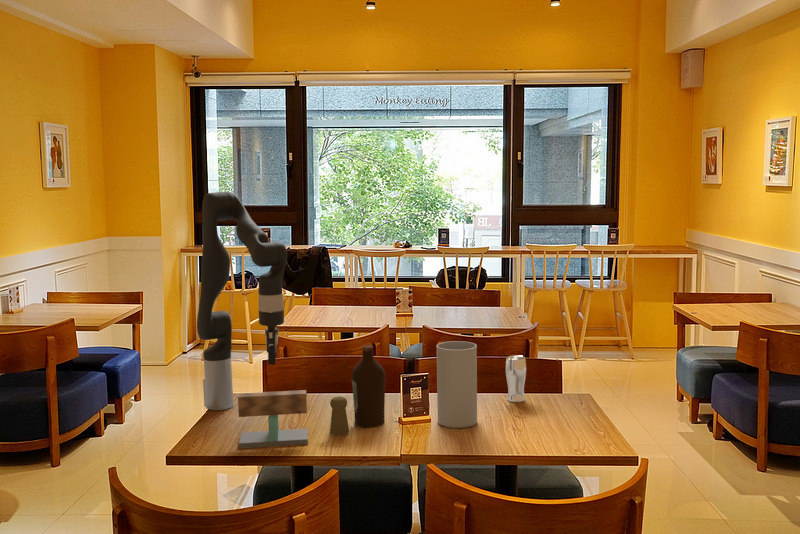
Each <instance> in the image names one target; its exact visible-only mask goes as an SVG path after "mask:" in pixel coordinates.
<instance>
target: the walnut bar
mask: <svg viewBox="0 0 800 534" xmlns="http://www.w3.org/2000/svg"><path fill="white" fill-rule="evenodd" d="M307 403H308V402H307V390H306V389H301V390H300V389H299V390H297V389H296V390H283V391H278V390H277V391H263V392H262V391H261V392H242V393H238V396H237V405H238V406H237V407H238V408H237V409H238V418H246V417H262V416H263V417H264V416H266V417H268V416H269V415H278V416H280V415H297V414H299V415H300V414H308V408H307V407H308V405H307Z"/></svg>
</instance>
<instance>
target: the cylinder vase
mask: <svg viewBox="0 0 800 534" xmlns="http://www.w3.org/2000/svg"><path fill="white" fill-rule="evenodd" d="M477 345H478V344H476V343H474V342H469V341H464V340H463V341H461V340H460V341H459V340H455V341H454V340H452V341H443V342H441V343H440V342H439V343H437V344H436V388H437V389H436V394H437V396H436V397H437V398H436V400H437V403H436V404H437V405H436V406H437V407H436V408H437V423H438V424H439V425H441V426H442V427H444V428H449V429H465V428H466V429H467V428H470V427H474V426H475V425H476V424H477V422H478V370H477V369H478V367H477V365H478V364H477V358H478V357H477V356H478V352H477V349H478V346H477Z"/></svg>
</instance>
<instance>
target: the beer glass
mask: <svg viewBox="0 0 800 534" xmlns="http://www.w3.org/2000/svg"><path fill="white" fill-rule="evenodd" d="M526 375H527V362H526V357H525V356H523V355H509V356H506V361H505V376H506V382H507V388H508V389H507V390H508V391H507V392H508V393H507V397H506V398H507V399H506V400H507V401H508V402H511V403H522V402H525V401H526V397H525V382H526Z"/></svg>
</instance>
